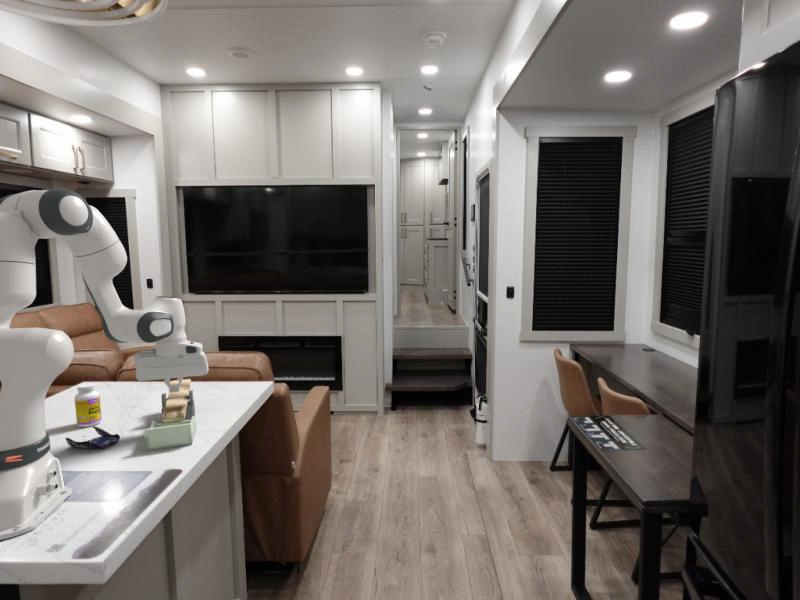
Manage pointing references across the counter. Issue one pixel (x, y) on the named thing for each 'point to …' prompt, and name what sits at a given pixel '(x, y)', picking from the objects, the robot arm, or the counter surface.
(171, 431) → the dish
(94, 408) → the supplement bottle
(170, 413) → the lever
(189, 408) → the fulcrum
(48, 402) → the counter surface
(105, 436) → the snack package
